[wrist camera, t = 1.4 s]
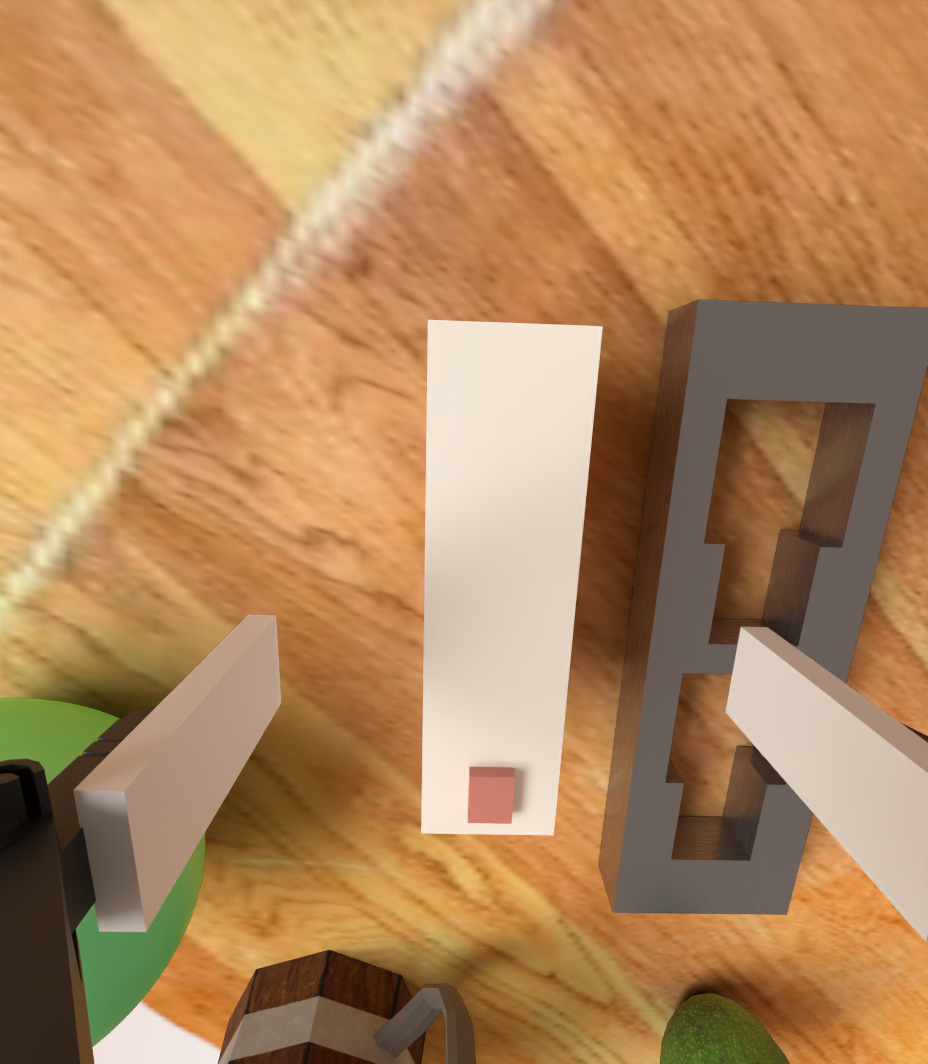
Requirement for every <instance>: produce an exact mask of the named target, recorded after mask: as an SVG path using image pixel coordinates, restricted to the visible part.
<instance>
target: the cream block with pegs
mask: <svg viewBox="0 0 928 1064" xmlns="http://www.w3.org/2000/svg"><path fill="white" fill-rule="evenodd" d="M602 328H603V326H581V325H553V324H526V323H499V322H472V321H444V320H428V360H427V437H426V514H425V590H424V667H423V744H422V820H421V833H436V834H502V835H554V826H555V815H556V805H557V794H558V784H559V774H560V763H561V753H562V743H563V732H564V722H565V711H566V701H567V691H568V680H569V670H570V660H571V649H572V639H573V628H574V618H575V608H576V597H577V587H578V577H579V566H580V556H581V545H582V535H583V525H584V514H585V504H586V494H587V483H588V473H589V462H590V452H591V442H592V431H593V421H594V411H595V400H596V390H597V379H598V369H599V359H600V348H601V338H602Z"/></svg>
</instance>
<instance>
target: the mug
mask: <svg viewBox="0 0 928 1064" xmlns="http://www.w3.org/2000/svg"><path fill="white" fill-rule="evenodd" d="M441 1012H443V1015H444V1018H445V1022H446V1064H476V1058H475V1045H474V1033H473V1024H472V1021H471V1019H470V1016H469V1014H468V1012H467V1009H466V1007H465V1004H464V1002H463V999H462V997H461V996H460V994H459V993H458V992H457V990H456V989H455V988H454V987H452V986H450V985H447V984H426V985H425V986H424V987H423V988H422V989H421V990H420V991H419V992H418V993H417V994H416V995H415V996H414V997H413V998H412V997H411V995H410V993H409V991H408V989H407V987H406V985H405V983H404V980H403V978H402V976H401V975H399V974H396V973H393V972H390V971H388V970H385V969H382V968H379V967H376V966H373V965H371V964H368V963H365V962H362V961H359V960H356V959H354V958H351V957H348V956H345V955H342V954H339V953H336V952H334V951H331V950H327V951H323V952H319V953H316V954H312V955H308V956H304V957H301V958H297V959H293V960H289V961H286V962H282V963H278V964H274V965H271V966H267V967H263V968H259V969H256V971H255V973H254V974H253V976H252V978H251V980H250V982H249V984H248V986H247V988H246V989H245V991H244V993H243V995H242V997H241V999H240V1001H239V1002H238V1004H237V1006H236V1008H235V1010H234V1012H233V1014H232V1016H231V1017H230V1019H229V1022H228V1026H227V1030H226V1034H225V1038H224V1042H223V1045H222V1049H221V1053H220V1057H219V1061H218V1064H421V1061H422V1054H423V1047H424V1041H425V1034H426V1029H427V1028H428V1027H429V1026H430V1025H431V1023H432V1022H433V1021H434V1020H435V1019H436V1018H437V1016H438V1015H439V1014H440V1013H441Z"/></svg>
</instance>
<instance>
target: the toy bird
mask: <svg viewBox="0 0 928 1064" xmlns="http://www.w3.org/2000/svg"><path fill="white" fill-rule="evenodd" d="M119 719H120V718H117V717H115V716H113V715H110V714H107V713H105V712H102V711H99V710H95V709H92V708H89V707H85V706H81V705H76V704H72V703H66V702H60V701H53V700H44V699H30V698H0V762H1V761H5V760H11V759H30V760H34V761H38V762H40V764H41V765H42V767H43V768H44V770H45V775H46V780H47V785H48V784H49V783H50V782H51V781H52V780H53V779H54V778H55V777H56V776H57V775H58V774H60V773H61V772H62V771H63V770H64V769H65V768H66V767H67V766H68V765H69V764H70V763H71V762H72V761H74V760H75V759H76V758H77V757H78V756H82V753H83V751H84V750H85V749H86V748H88V747H89V746H90V745H91V744H92V743H93V742H94V741H97V740H98V737H99V736H101V735H102V734H103V733H104V732H105V731H106V730H107V729H108V728H109V727H110V726H111V725H112V724H113V723H115V722H116V721H117V720H119ZM204 862H205V833H204V835H203V837H202V838H201V840H200V842H199V843H198V845H197V847H196V848H195V850H194V852H193V854H192V855H191V857H190V859H189V860H188V862H187V864H186V865H185V867H184V869H183V871H182V872H181V874H180V876H179V877H178V879H177V881H176V882H175V884H174V886H173V887H172V889H171V891H170V893H169V894H168V896H167V898H166V899H165V901H164V903H163V904H162V906H161V908H160V909H159V911H158V913H157V915H156V916H155V918H154V920H153V921H152V923H151V925H150V926H149V928H148V930H147V932H99V928H98V922H97V917H96V912H95V906H94V904H93V906H92V907H91V909H90V910H89V911H88V913H87V914H86V915H85V917H84V918H83V920H82V921H81V922H80V924H79V925H78V926H77V928H76V931H77V936H78V942H79V949H80V956H81V964H82V972H83V980H84V987H85V995H86V1003H87V1011H88V1018H89V1026H90V1034H91V1042H92V1047H93V1046H94V1045H96V1044H97V1043H98V1042H99V1041H101V1040H102V1039H103V1038H104V1037H105V1036H106V1035H108V1034H109V1033H110V1032H111V1031H112V1030H113V1029H114V1028H115V1027H116V1026H117V1025H118V1024H119V1023H120V1022H122V1021H123V1020H124V1018H126V1016H127V1015H128V1014H129V1013H130V1012H131V1011H132V1010H133V1009H134V1008H135V1007H136V1006H137V1005H138V1004H139V1002H140V1001H141V1000H142V999H143V998H144V997H145V995H146V994H147V993H148V992H149V990H150V989H151V988H152V986H153V985H154V984H155V982H156V981H157V980H158V978H159V977H160V975H161V974H162V972H163V971H164V969H165V968H166V966H167V965H168V963H169V962H170V960H171V958H172V956H173V955H174V953H175V951H176V949H177V947H178V946H179V944H180V942H181V940H182V938H183V935H184V933H185V931H186V929H187V926H188V924H189V922H190V919H191V916H192V914H193V911H194V908H195V905H196V902H197V898H198V895H199V891H200V887H201V882H202V877H203V871H204Z"/></svg>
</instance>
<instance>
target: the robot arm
mask: <svg viewBox="0 0 928 1064" xmlns="http://www.w3.org/2000/svg"><path fill="white" fill-rule="evenodd" d="M280 704H281V687H280V671H279V656H278V640H277V624H276V615H247V616H246V617H245V618H244V619H243V620H242V621H241V622H240V623H239V624H238V625H237V626H236V627H235V628H234V629H233V630H232V631H231V632H230V633H229V634H228V635H227V636H226V637H225V638H224V639H223V640H222V641H221V642H220V643H219V644H218V645H217V646H216V647H215V648H214V649H213V650H212V651H211V652H210V653H209V654H208V655H207V656H206V658H205V659H204V660H203V661H202V662H201V663H200V664H199V665H198V666H197V667H196V668H195V669H194V670H193V671H192V672H191V673H190V674H189V675H188V676H187V677H186V678H185V679H184V680H183V681H182V682H181V683H180V684H179V685H178V686H177V687H176V688H175V689H174V690H173V691H172V692H171V693H170V694H169V695H168V696H167V697H166V698H165V699H164V700H163V701H162V702H161V703H160V704H159V705H158V706H157V707H140V708H138V709H137V710H135V711H133V712H131V713H130V714H128V715H126V716H124V717H122V718H121V719H119V720H117V721H116V722H115V723H113V724H112V725H111V726H110V727H109V728H108V729H107V730H106V731H105V732H104V733H103V734H102V735H101V736H99V737H98V740H97V741H94V742H93V743H92V744H91V745H90V746H89V747H88V748H86V749H85V750H84V751H83V753H82V756H78V757H77V758H76V759H75V760H74V761H72V762H71V763H70V764H69V765H68V766H67V767H66V768H65V769H64V770H63V771H62V772H61V773H60V774H58V775H57V776H56V777H55V778H54V779H53V780H52V781H51V782H50V783H49V784H48V785H47V780H46V775H45V770H44V768H43V767H42V765H41V764H40V762H38V761H34V760H30V759H11V760H5V761H1V762H0V1064H94V1058H93V1050H92V1042H91V1034H90V1026H89V1018H88V1011H87V1003H86V995H85V987H84V980H83V972H82V964H81V956H80V949H79V942H78V936H77V931H76V928H77V926H78V925H79V924H80V922H81V921H82V920H83V918H84V917H85V915H86V914H87V913H88V911H89V910H90V909H91V907H92V906H93V904H94V906H95V912H96V917H97V922H98V928H99V932H147V930H148V928H149V926H150V925H151V923H152V921H153V920H154V918H155V916H156V915H157V913H158V911H159V909H160V908H161V906H162V904H163V903H164V901H165V899H166V898H167V896H168V894H169V893H170V891H171V889H172V887H173V886H174V884H175V882H176V881H177V879H178V877H179V876H180V874H181V872H182V871H183V869H184V867H185V865H186V864H187V862H188V860H189V859H190V857H191V855H192V854H193V852H194V850H195V848H196V847H197V845H198V843H199V842H200V840H201V838H202V837H203V835H204V833H205V832H206V830H207V828H208V826H209V825H210V823H211V821H212V820H213V818H214V816H215V815H216V813H217V811H218V810H219V808H220V806H221V804H222V803H223V801H224V799H225V798H226V796H227V794H228V793H229V791H230V789H231V788H232V786H233V784H234V782H235V781H236V779H237V777H238V776H239V774H240V772H241V771H242V769H243V767H244V765H245V764H246V762H247V760H248V759H249V757H250V755H251V754H252V752H253V750H254V749H255V747H256V745H257V743H258V742H259V740H260V738H261V737H262V735H263V733H264V732H265V730H266V728H267V727H268V725H269V723H270V721H271V720H272V718H273V716H274V715H275V713H276V711H277V710H278V708H279V706H280ZM726 713H727V715H728V716H729V717H730V718H731V719H732V720H733V721H734V723H735V724H736V725H737V726H738V727H739V728H740V730H741V731H742V732H743V733H744V734H745V735H746V736H747V738H748V739H749V740H750V741H751V742H752V743H753V744H754V746H755V747H756V748H757V749H758V750H759V751H760V752H761V754H762V755H763V756H764V757H765V758H766V759H767V761H768V762H769V763H770V764H771V765H772V766H773V767H774V769H775V770H776V771H777V772H778V773H779V774H780V775H781V777H782V778H783V779H784V780H785V781H786V782H787V783H788V785H789V786H790V787H791V788H792V789H793V790H794V792H795V793H796V794H797V795H798V796H799V797H800V798H801V800H802V801H803V802H804V803H805V804H806V805H807V806H808V808H809V809H810V810H811V811H812V812H813V813H814V814H815V816H816V817H817V818H818V819H819V820H820V821H821V823H822V824H823V825H824V826H825V827H826V828H827V829H828V831H829V832H830V833H831V834H832V835H833V836H834V837H835V839H836V840H837V841H838V842H839V843H840V844H841V845H842V847H843V848H844V849H845V850H846V851H847V852H848V854H849V855H850V856H851V857H852V858H853V859H854V860H855V862H856V863H857V864H858V865H859V866H860V867H861V868H862V870H863V871H864V872H865V873H866V874H867V875H868V876H869V878H870V879H871V880H872V881H873V882H874V883H875V885H876V886H877V887H878V888H879V889H880V890H881V891H882V893H883V894H884V895H885V896H886V897H887V898H888V899H889V901H890V902H891V903H892V904H893V905H894V906H895V907H896V909H897V910H898V911H899V912H900V913H901V914H902V916H903V917H904V918H905V919H906V920H907V921H908V922H909V924H910V925H911V926H912V927H913V928H914V929H915V930H916V932H917V933H918V934H919V935H920V936H921V937H922V938H923V940H924V941H925V942H928V736H926V735H924V734H922V733H920V732H918V731H916V730H914V729H912V728H910V727H908V726H906V725H904V724H902V723H900V722H898V721H897V720H896V719H894V718H893V717H891V716H890V715H889V714H887V713H886V712H884V711H883V710H882V709H880V708H879V707H878V706H876V705H875V704H873V703H872V702H871V701H869V700H868V699H866V698H865V697H864V696H862V695H861V694H859V693H858V692H857V691H855V690H854V689H852V688H851V687H850V686H848V685H847V684H846V683H844V682H843V681H841V680H840V679H839V678H837V677H836V676H834V675H833V674H832V673H830V672H829V671H827V670H826V669H825V668H823V667H822V666H820V665H819V664H818V663H816V662H815V661H814V660H812V659H811V658H809V657H808V656H807V655H805V654H804V653H802V652H801V651H800V650H798V649H797V648H795V647H794V646H793V645H791V644H790V643H788V642H787V641H786V640H784V639H783V638H782V637H780V636H779V635H777V634H776V633H775V632H773V631H772V630H770V629H769V628H768V627H741V628H740V634H739V640H738V645H737V651H736V656H735V662H734V668H733V673H732V679H731V684H730V690H729V696H728V701H727V707H726Z"/></svg>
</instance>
